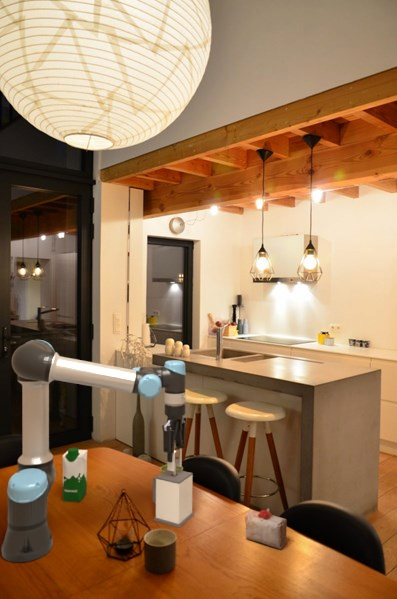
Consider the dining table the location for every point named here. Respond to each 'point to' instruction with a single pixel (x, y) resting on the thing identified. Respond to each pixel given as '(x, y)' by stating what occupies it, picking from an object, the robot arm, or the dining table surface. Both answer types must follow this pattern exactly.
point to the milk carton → (74, 475)
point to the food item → (266, 528)
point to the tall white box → (173, 497)
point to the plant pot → (166, 468)
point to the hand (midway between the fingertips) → (174, 468)
